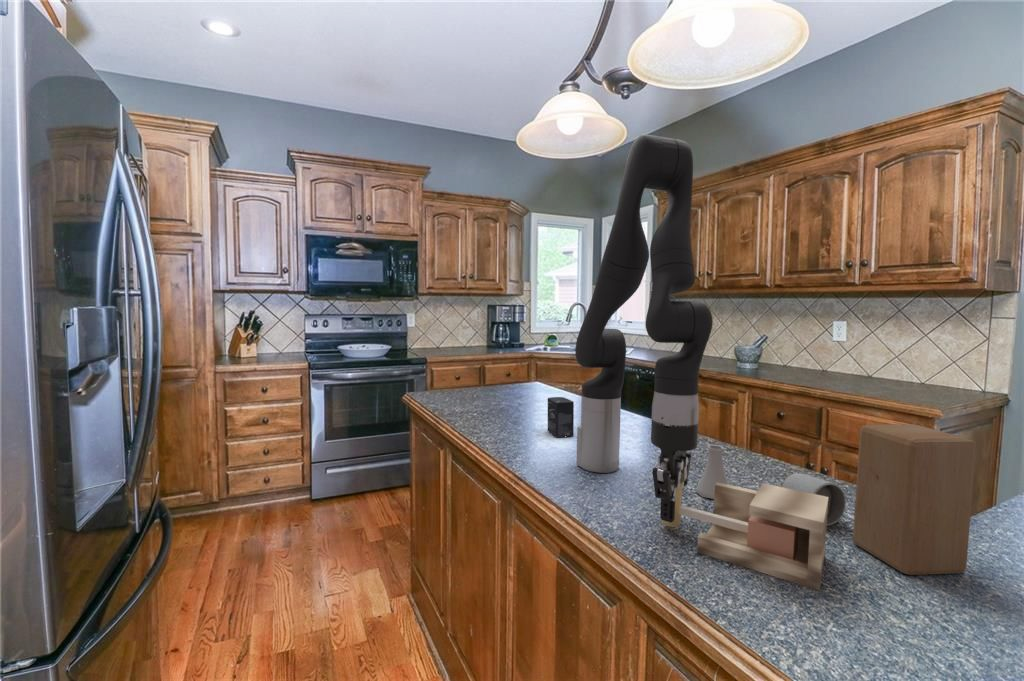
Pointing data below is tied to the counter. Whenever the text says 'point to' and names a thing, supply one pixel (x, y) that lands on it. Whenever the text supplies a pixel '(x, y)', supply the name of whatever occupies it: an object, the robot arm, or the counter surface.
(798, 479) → the ceramic mug
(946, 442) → the wooden block
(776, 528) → the pull block
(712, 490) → the flask
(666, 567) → the counter surface
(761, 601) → the counter surface
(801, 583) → the shelf
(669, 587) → the counter surface
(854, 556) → the counter surface
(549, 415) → the box
